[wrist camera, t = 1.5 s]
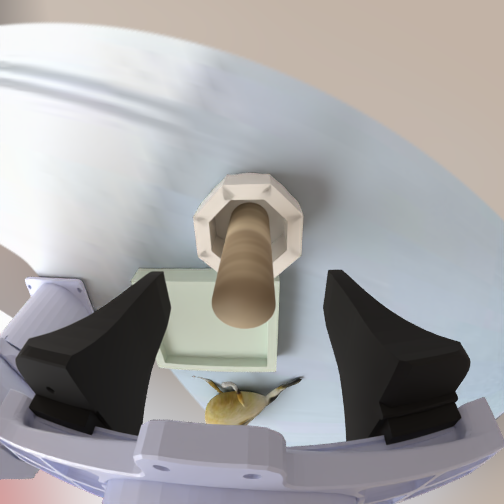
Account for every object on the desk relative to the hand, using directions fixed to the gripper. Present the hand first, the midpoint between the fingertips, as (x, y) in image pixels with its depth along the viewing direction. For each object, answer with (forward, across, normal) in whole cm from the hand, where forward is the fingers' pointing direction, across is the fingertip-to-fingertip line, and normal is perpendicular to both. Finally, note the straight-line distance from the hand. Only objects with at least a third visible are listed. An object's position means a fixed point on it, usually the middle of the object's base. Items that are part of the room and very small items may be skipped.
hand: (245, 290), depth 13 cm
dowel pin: (+8, 0, 0) cm, 8 cm away
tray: (+8, +4, +9) cm, 13 cm away
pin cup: (+8, 0, 0) cm, 9 cm away
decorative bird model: (+9, +1, +21) cm, 23 cm away
